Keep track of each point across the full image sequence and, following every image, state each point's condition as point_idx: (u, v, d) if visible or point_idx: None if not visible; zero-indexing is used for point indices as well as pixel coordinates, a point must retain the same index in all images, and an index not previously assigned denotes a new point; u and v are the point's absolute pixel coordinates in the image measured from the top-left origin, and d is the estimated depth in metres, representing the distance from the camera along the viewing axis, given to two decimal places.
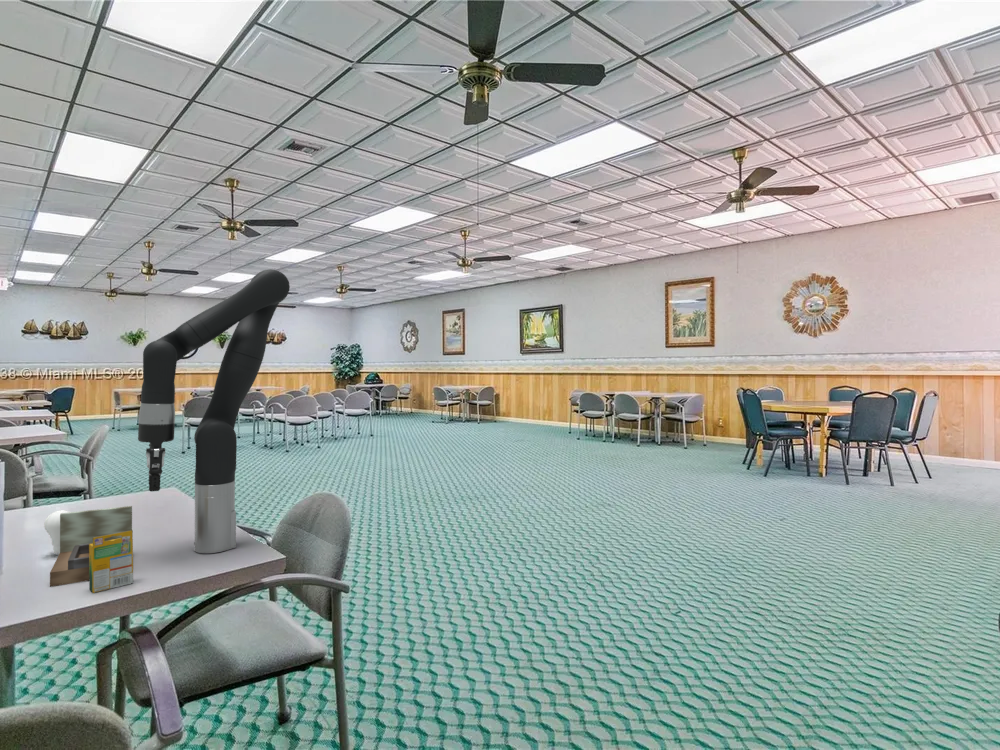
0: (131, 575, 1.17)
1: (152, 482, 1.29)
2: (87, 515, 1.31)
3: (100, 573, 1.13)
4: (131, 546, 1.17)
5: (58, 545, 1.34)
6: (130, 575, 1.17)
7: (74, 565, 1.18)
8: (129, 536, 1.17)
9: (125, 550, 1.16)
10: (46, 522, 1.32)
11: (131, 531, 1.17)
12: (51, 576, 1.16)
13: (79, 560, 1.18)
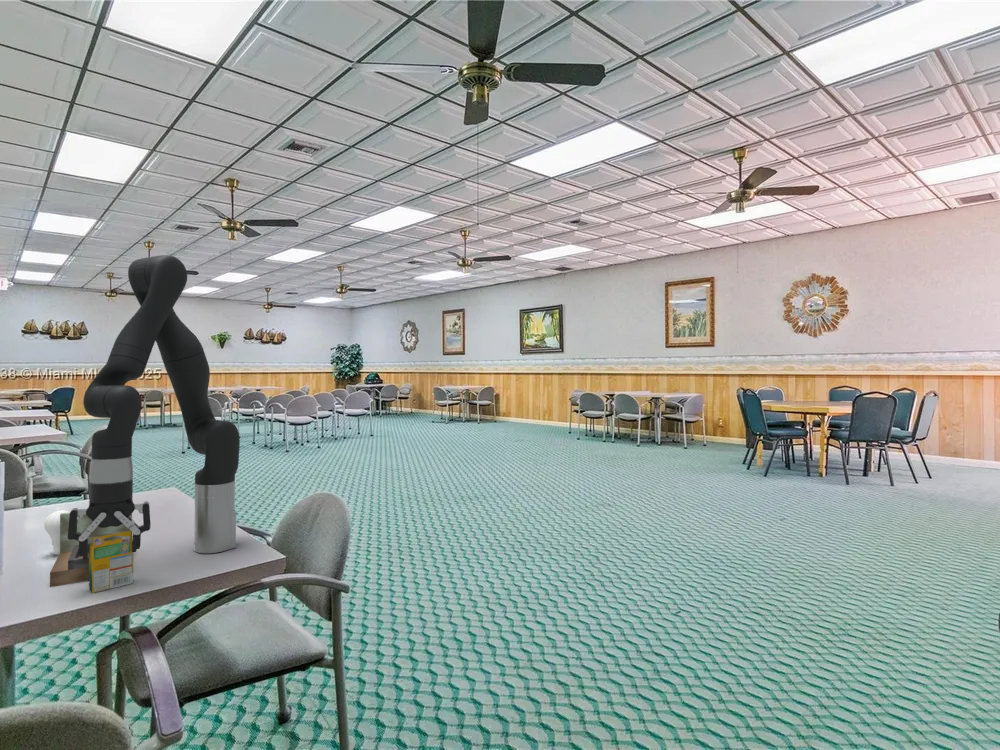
0: (131, 575, 1.17)
1: (140, 540, 1.18)
2: None
3: (100, 573, 1.13)
4: (131, 546, 1.17)
5: (58, 545, 1.34)
6: (130, 575, 1.17)
7: (74, 565, 1.18)
8: (129, 536, 1.17)
9: (124, 550, 1.16)
10: (46, 522, 1.32)
11: (131, 531, 1.17)
12: (51, 576, 1.16)
13: (79, 560, 1.18)
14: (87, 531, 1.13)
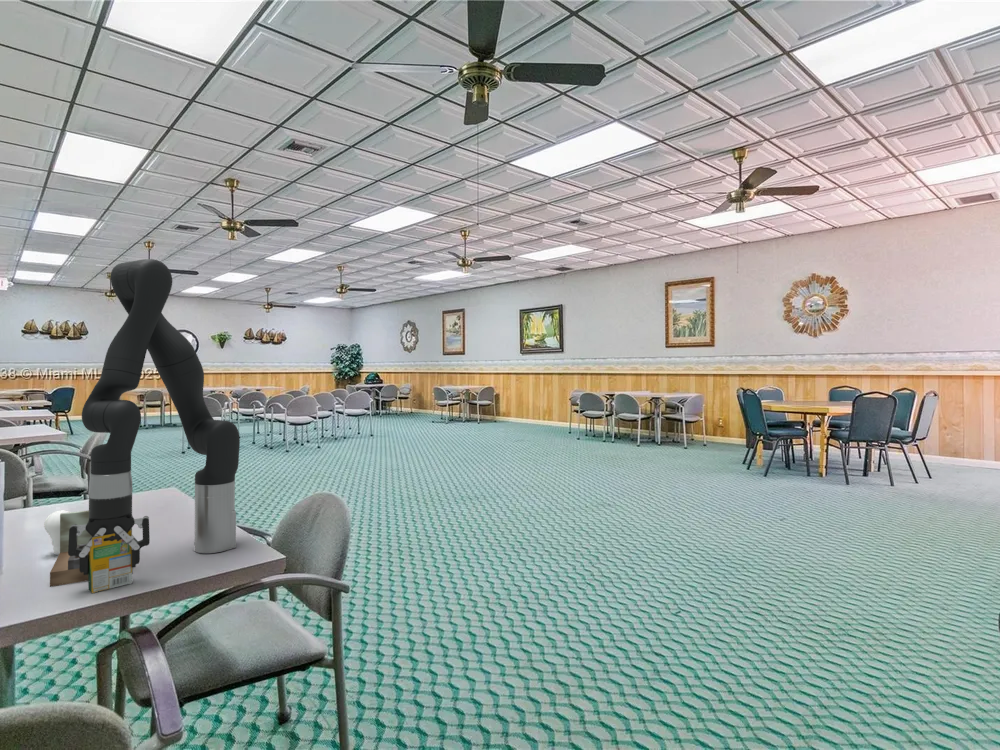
0: (130, 575, 1.17)
1: (139, 555, 1.18)
2: (87, 515, 1.31)
3: (99, 573, 1.13)
4: (130, 546, 1.17)
5: (58, 545, 1.34)
6: (129, 575, 1.17)
7: (74, 565, 1.18)
8: None
9: (124, 550, 1.16)
10: (46, 522, 1.32)
11: (130, 531, 1.17)
12: (51, 576, 1.16)
13: (79, 560, 1.18)
14: (87, 547, 1.13)
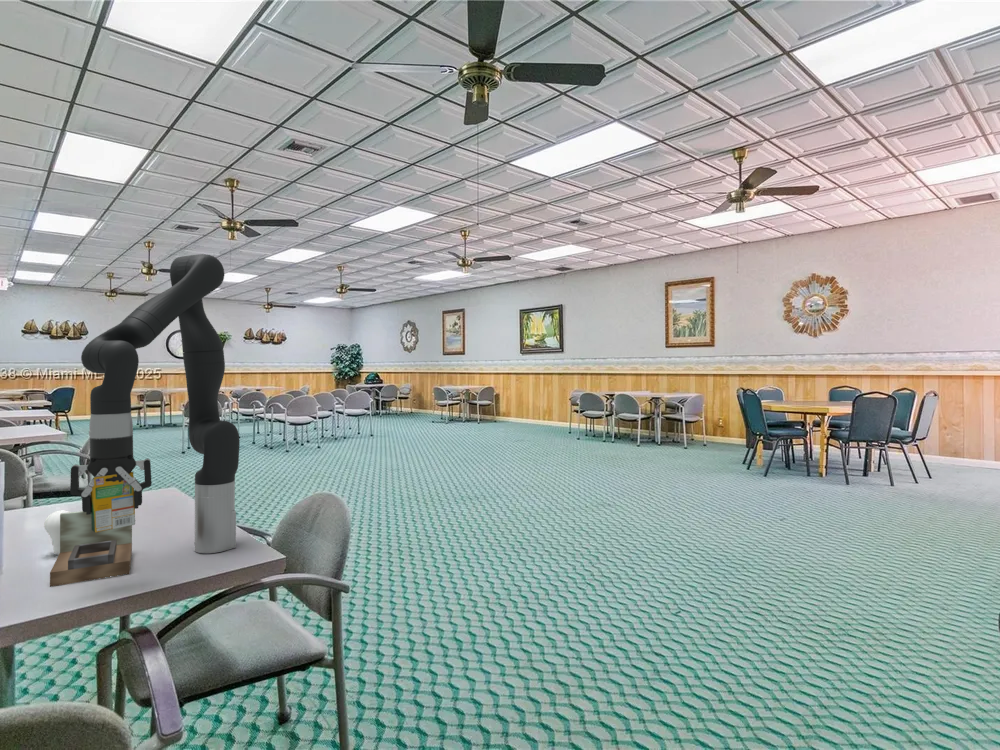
0: (133, 516, 1.18)
1: (141, 497, 1.18)
2: (87, 515, 1.31)
3: (102, 513, 1.13)
4: (132, 488, 1.18)
5: (58, 545, 1.34)
6: (132, 516, 1.17)
7: (74, 565, 1.18)
8: None
9: (126, 491, 1.17)
10: (46, 522, 1.32)
11: (132, 473, 1.17)
12: (51, 576, 1.16)
13: (79, 560, 1.18)
14: (89, 487, 1.13)
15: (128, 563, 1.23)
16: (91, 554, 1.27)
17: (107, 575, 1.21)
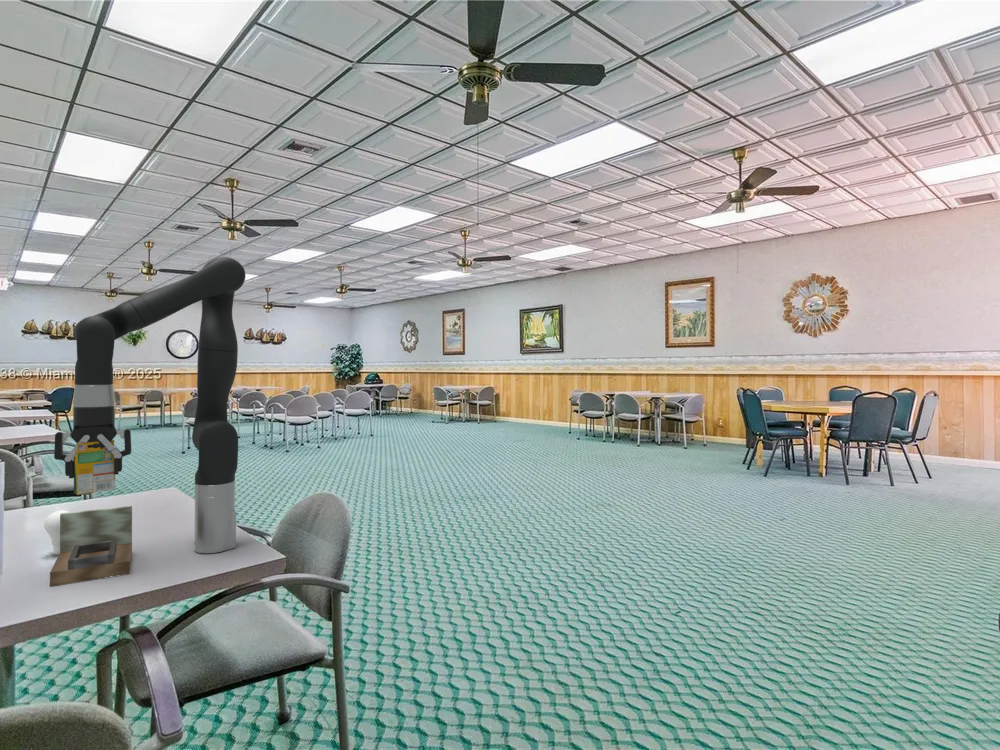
0: (113, 482, 1.26)
1: (121, 464, 1.26)
2: (87, 515, 1.31)
3: (83, 477, 1.21)
4: (113, 455, 1.26)
5: (58, 545, 1.34)
6: (112, 482, 1.26)
7: (74, 565, 1.18)
8: None
9: (107, 458, 1.25)
10: (46, 522, 1.32)
11: (113, 441, 1.26)
12: (51, 576, 1.16)
13: (79, 560, 1.18)
14: (72, 452, 1.21)
15: (128, 563, 1.23)
16: (91, 554, 1.27)
17: (107, 575, 1.21)
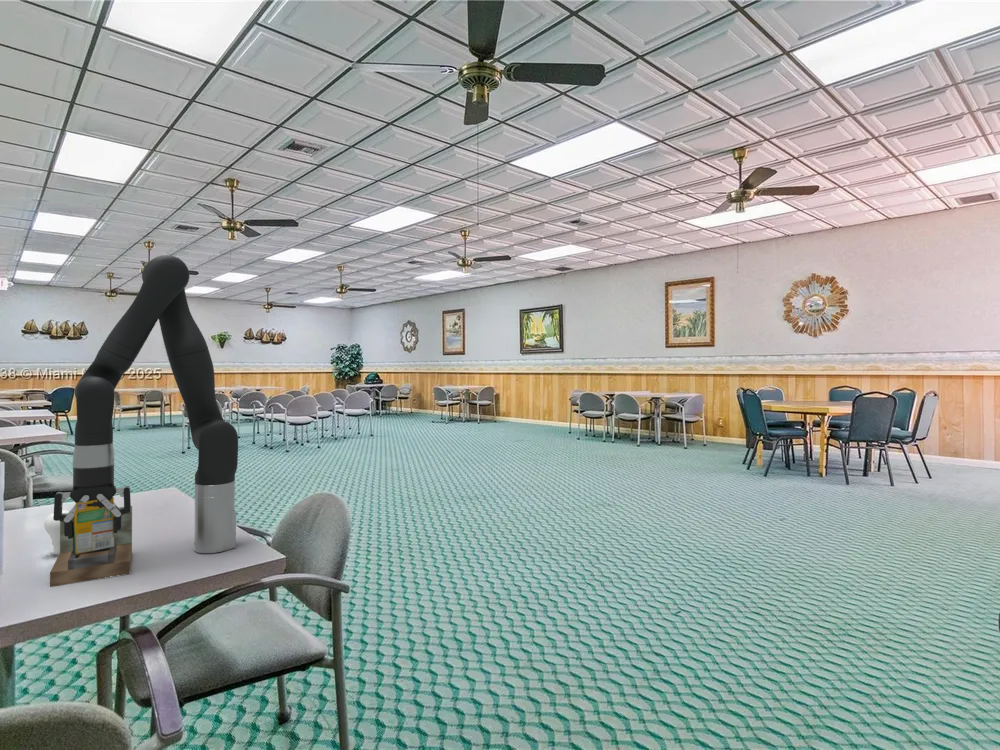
0: (112, 539, 1.26)
1: None
2: None
3: (82, 536, 1.22)
4: None
5: (58, 545, 1.34)
6: (111, 539, 1.26)
7: (74, 565, 1.18)
8: None
9: (106, 516, 1.25)
10: (46, 522, 1.32)
11: (112, 498, 1.26)
12: (51, 576, 1.16)
13: (79, 560, 1.18)
14: (72, 513, 1.21)
15: (128, 563, 1.23)
16: (91, 554, 1.27)
17: (107, 575, 1.21)
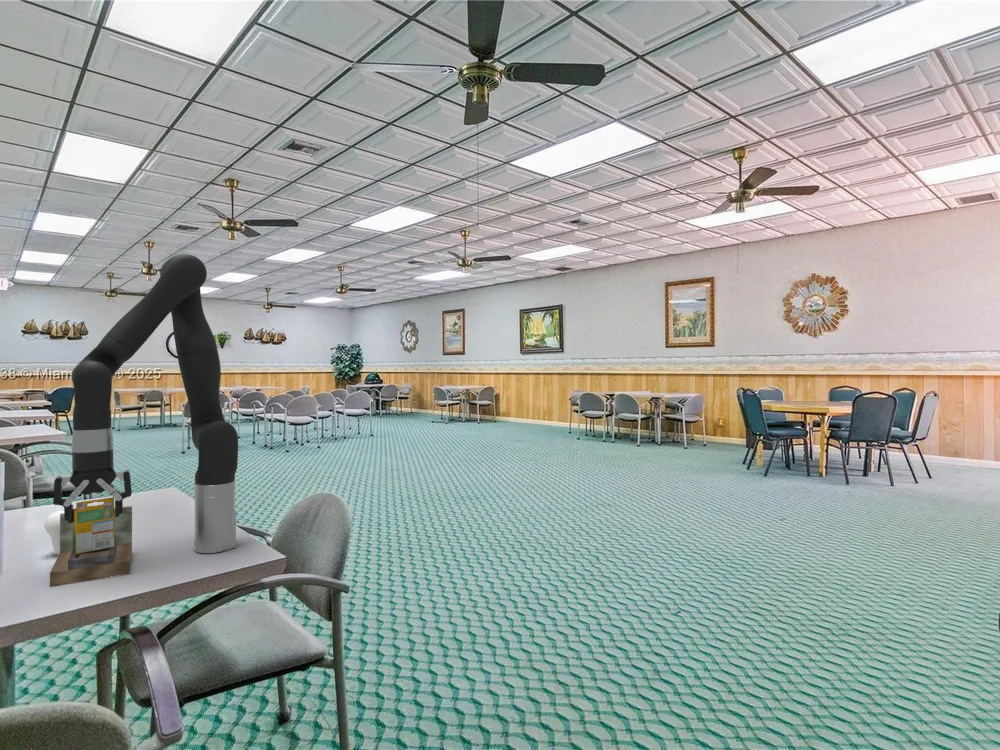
0: (112, 539, 1.26)
1: (122, 506, 1.27)
2: None
3: (83, 536, 1.22)
4: (112, 512, 1.26)
5: (58, 545, 1.34)
6: (111, 539, 1.26)
7: (74, 565, 1.18)
8: (111, 503, 1.26)
9: (106, 516, 1.25)
10: (46, 522, 1.32)
11: (113, 498, 1.26)
12: (51, 576, 1.16)
13: (79, 560, 1.18)
14: (71, 497, 1.21)
15: (128, 563, 1.23)
16: (91, 554, 1.27)
17: (107, 575, 1.21)
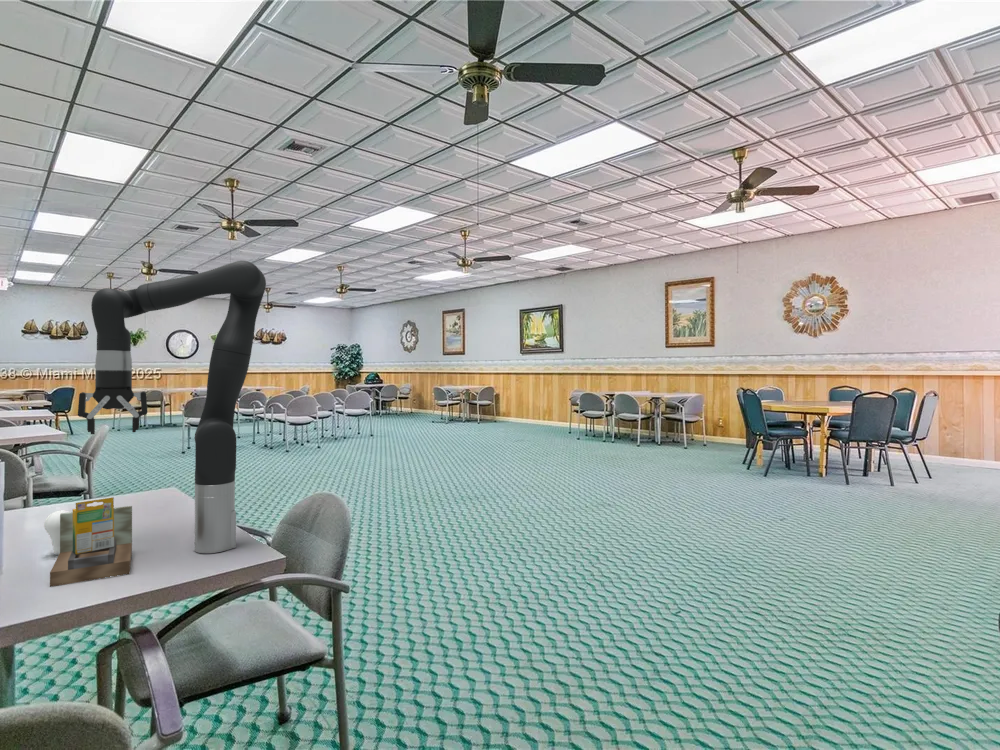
0: (112, 539, 1.26)
1: (138, 423, 1.40)
2: None
3: (82, 536, 1.22)
4: (112, 512, 1.26)
5: (58, 545, 1.34)
6: (111, 539, 1.26)
7: (74, 565, 1.18)
8: (110, 503, 1.26)
9: (106, 516, 1.25)
10: (46, 522, 1.32)
11: (112, 498, 1.26)
12: (51, 576, 1.16)
13: (79, 560, 1.18)
14: (94, 411, 1.34)
15: (128, 563, 1.23)
16: (91, 554, 1.27)
17: (107, 575, 1.21)
